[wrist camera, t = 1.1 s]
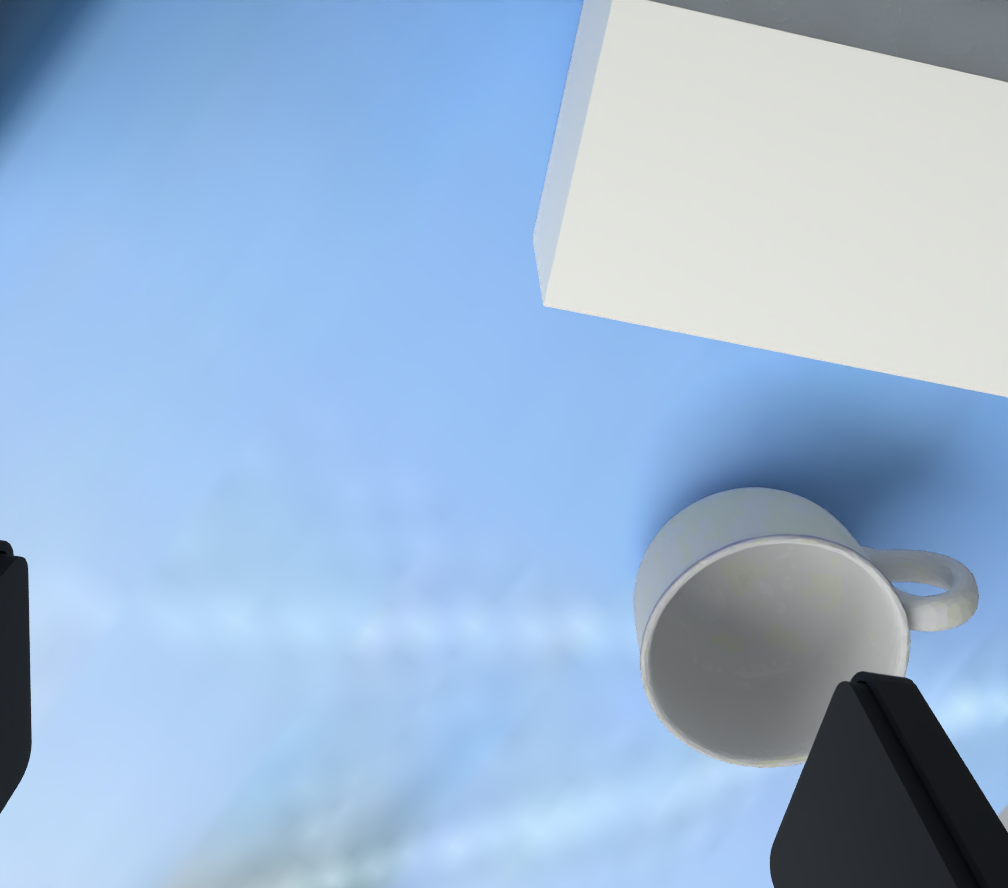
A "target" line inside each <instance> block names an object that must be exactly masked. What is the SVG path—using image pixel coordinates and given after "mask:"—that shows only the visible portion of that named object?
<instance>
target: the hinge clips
mask: <svg viewBox="0 0 1008 888" xmlns="http://www.w3.org/2000/svg"><path fill="white" fill-rule="evenodd" d="M652 1H656V2H660V3H665V4H669V5H674V6H678V7H682V8H687V9H691V10H696V11H700V12H704V13H709V14H713V15H718V16H722V17H726V18H731V19H735V20H740V21H744V22H748V23H753V24H757V25H761V26H766V27H770V28H775V29H779V30H783V31H788V32H792V33H797V34H801V35H805V36H810V37H814V38H819V39H823V40H827V41H832V42H836V43H841V44H845V45H849V46H854V47H858V48H863V49H867V50H871V51H876V52H880V53H884V54H889V55H893V56H898V57H902V58H906V59H911V60H915V61H920V62H924V63H928V64H933V65H937V66H942V67H946V68H950V69H955V70H959V71H964V72H968V73H972V74H977V75H981V76H986V77H990V78H994V79H999V80H1003V81H1007V82H1008V0H652Z"/></svg>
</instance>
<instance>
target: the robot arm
mask: <svg viewBox="0 0 1008 888" xmlns="http://www.w3.org/2000/svg"><path fill="white" fill-rule="evenodd" d="M31 744H32V740H31V689H30V639H29V588H28V565H27V562H26V559H25V558H23V557H19V556H14V554H13V549H12V547H11V545H10V544H9V543H8V542H7V541H2V540H0V813H1V812H2V810H3V808H4V807H5V805H6V804H7V802H8V800H9V799H10V797H11V796H12V794H13V792H14V791H15V789H16V788H17V786H18V784H19V783H20V781H21V779H22V777H23V775H24V773H25V771H26V768H27V765H28V762H29V758H30V753H31ZM770 872H771V878H772V882H773V885H774V888H1008V832H1007V831H1006V829H1005V828H1004V826H1003V824H1002V823H1001V821H1000V820H999V818H998V816H997V815H996V813H995V811H994V810H993V808H992V807H991V805H990V803H989V802H988V800H987V799H986V797H985V795H984V794H983V792H982V791H981V789H980V787H979V786H978V784H977V783H976V781H975V779H974V778H973V776H972V774H971V773H970V771H969V770H968V768H967V766H966V765H965V763H964V762H963V760H962V758H961V757H960V755H959V754H958V752H957V750H956V749H955V747H954V746H953V744H952V742H951V741H950V739H949V738H948V736H947V734H946V733H945V731H944V729H943V728H942V726H941V725H940V723H939V721H938V720H937V718H936V717H935V715H934V713H933V712H932V710H931V709H930V707H929V705H928V704H927V702H926V701H925V699H924V697H923V696H922V694H921V693H920V691H919V689H918V688H917V686H916V685H915V684H914V683H913V681H912V680H910V679H908V678H905V677H899V676H892V675H885V674H879V673H872V672H866V671H861V672H857V673H856V674H855V675H854V676H853V677H852V679H851V681H850V682H849V681H842V682H840V683H839V684H838V685H837V687H836V689H835V691H834V693H833V695H832V698H831V700H830V703H829V705H828V708H827V710H826V713H825V715H824V718H823V720H822V723H821V725H820V728H819V730H818V733H817V735H816V738H815V740H814V743H813V745H812V748H811V750H810V753H809V755H808V758H807V760H806V763H805V765H804V768H803V770H802V773H801V775H800V778H799V780H798V783H797V785H796V788H795V790H794V793H793V795H792V798H791V800H790V803H789V805H788V808H787V810H786V813H785V815H784V818H783V820H782V823H781V825H780V828H779V830H778V833H777V835H776V838H775V840H774V843H773V846H772V849H771V855H770Z"/></svg>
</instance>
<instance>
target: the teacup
mask: <svg viewBox="0 0 1008 888" xmlns="http://www.w3.org/2000/svg"><path fill="white" fill-rule="evenodd" d="M890 582H914V583H923V584H929V585H933V586H936V587H940V588H943V589H946V590H948V591H947V592H945V593H942V594H939V595H932V596H924V597H921V596H916V595H911V594H908V593H905V592H903V591H900V590H899V589H897V588H895V587H894V586H892V584H891V583H890ZM978 599H979V594H978V588H977V584H976V581H975V578H974V576H973V574H972V573H971V572H970V570H969V569H968V568H967V567H966V566H965V565H964V564H962V563H961V562H959V561H957V560H955V559H953V558H951V557H949V556H945V555H942V554H938V553H932V552H927V551H917V550H877V549H873V548H870V547H867V546H860V544H859V543H858V542H857V541H856V539H855V538H854V537H853V536H852V535H851V533H850V532H849V531H848V530H847V529H846V528H845V527H844V526H843V525H842V524H841V523H840V522H839V521H838V520H837V519H836V518H835V517H834V516H833V515H831V514H830V513H829V512H828V511H826V510H825V509H823V508H822V507H820V506H819V505H817V504H816V503H814V502H812V501H810V500H808V499H806V498H804V497H801V496H798V495H796V494H793V493H789V492H786V491H782V490H776V489H771V488H761V487H747V488H738V489H731V490H727V491H723V492H719V493H715V494H712V495H710V496H707V497H705V498H702V499H700V500H698V501H696V502H694V503H693V504H691V505H689V506H687V507H686V508H684V509H683V510H681V511H680V512H679V513H678V514H676V515H675V516H674V517H673V518H671V519H670V520H669V521H668V522H667V523H666V524H665V525H664V526H663V527H662V528H661V530H660V531H659V532H658V533H657V534H656V536H655V537H654V539H653V540H652V542H651V543H650V545H649V547H648V548H647V550H646V552H645V554H644V557H643V559H642V561H641V564H640V566H639V570H638V573H637V577H636V583H635V591H634V615H635V626H636V633H637V640H638V645H639V651H640V670H641V677H642V682H643V688H644V690H645V693H646V695H647V698H648V700H649V702H650V704H651V706H652V709H653V710H654V712H655V714H656V715H657V717H658V718H659V719H660V721H661V722H662V723H663V724H664V726H665V727H666V728H667V729H668V730H669V731H670V732H671V733H672V734H673V735H674V736H676V737H677V738H678V739H679V740H681V741H682V742H684V743H685V744H686V745H687V746H689V747H691V748H693V749H694V750H696V751H698V752H701V753H703V754H705V755H707V756H709V757H711V758H714V759H717V760H720V761H723V762H727V763H730V764H737V765H741V766H750V767H759V768H765V767H767V768H772V767H782V766H791V765H797V764H801V763H803V762H806V760H807V758H808V755H809V753H810V750H811V748H812V745H813V743H814V740H815V738H816V735H817V733H818V730H819V728H820V725H821V723H822V720H823V718H824V715H825V713H826V710H827V708H828V705H829V703H830V700H831V698H832V695H833V693H834V691H835V689H836V687H837V685H838V684H839V683H840V682H842V681H849V682H850V681H851V679H852V677H853V676H854V675H855V674H856V673H857V672H861V671H866V672H872V673H879V674H885V675H892V676H899V677H905V674H906V669H907V665H908V660H909V651H910V641H911V640H910V630H915V631H926V632H927V631H941V630H946V629H951V628H954V627H958V626H959V625H961V624H963V623H965V622H967V621H968V620H969V619H970V618H971V617H972V616H973V614H974V613H975V611H976V609H977V605H978Z"/></svg>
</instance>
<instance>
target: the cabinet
mask: <svg viewBox="0 0 1008 888" xmlns="http://www.w3.org/2000/svg"><path fill="white" fill-rule="evenodd" d="M533 243H534V250H535V256H536V263H537V269H538V275H539V282H540V288H541V295H542V301H543V306H547V307H552V308H557V309H563V310H568V311H573V312H578V313H583V314H588V315H593V316H598V317H603V318H608V319H613V320H618V321H623V322H629V323H634V324H639V325H644V326H649V327H654V328H659V329H664V330H669V331H674V332H679V333H684V334H689V335H695V336H700V337H705V338H710V339H715V340H720V341H725V342H730V343H735V344H740V345H745V346H750V347H755V348H760V349H766V350H771V351H776V352H781V353H786V354H791V355H796V356H801V357H806V358H811V359H816V360H821V361H826V362H832V363H837V364H842V365H847V366H852V367H857V368H862V369H867V370H872V371H877V372H882V373H887V374H892V375H897V376H903V377H908V378H913V379H918V380H923V381H928V382H933V383H938V384H943V385H948V386H953V387H958V388H963V389H969V390H974V391H979V392H984V393H989V394H994V395H999V396H1004V397H1008V82H1007V81H1003V80H999V79H994V78H990V77H986V76H981V75H977V74H972V73H968V72H964V71H959V70H955V69H950V68H946V67H942V66H937V65H933V64H928V63H924V62H920V61H915V60H911V59H906V58H902V57H898V56H893V55H889V54H884V53H880V52H876V51H871V50H867V49H863V48H858V47H854V46H849V45H845V44H841V43H836V42H832V41H827V40H823V39H819V38H814V37H810V36H805V35H801V34H797V33H792V32H788V31H783V30H779V29H775V28H770V27H766V26H761V25H757V24H753V23H748V22H744V21H740V20H735V19H731V18H726V17H722V16H718V15H713V14H709V13H704V12H700V11H696V10H691V9H687V8H682V7H678V6H674V5H669V4H665V3H660V2H656V1H652V0H584V1H583V6H582V11H581V15H580V20H579V24H578V29H577V34H576V38H575V43H574V48H573V52H572V57H571V62H570V66H569V71H568V75H567V80H566V85H565V89H564V94H563V99H562V103H561V108H560V113H559V117H558V122H557V126H556V131H555V136H554V140H553V145H552V150H551V154H550V159H549V163H548V168H547V173H546V177H545V182H544V187H543V191H542V196H541V201H540V205H539V210H538V214H537V219H536V224H535V228H534V233H533Z"/></svg>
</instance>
